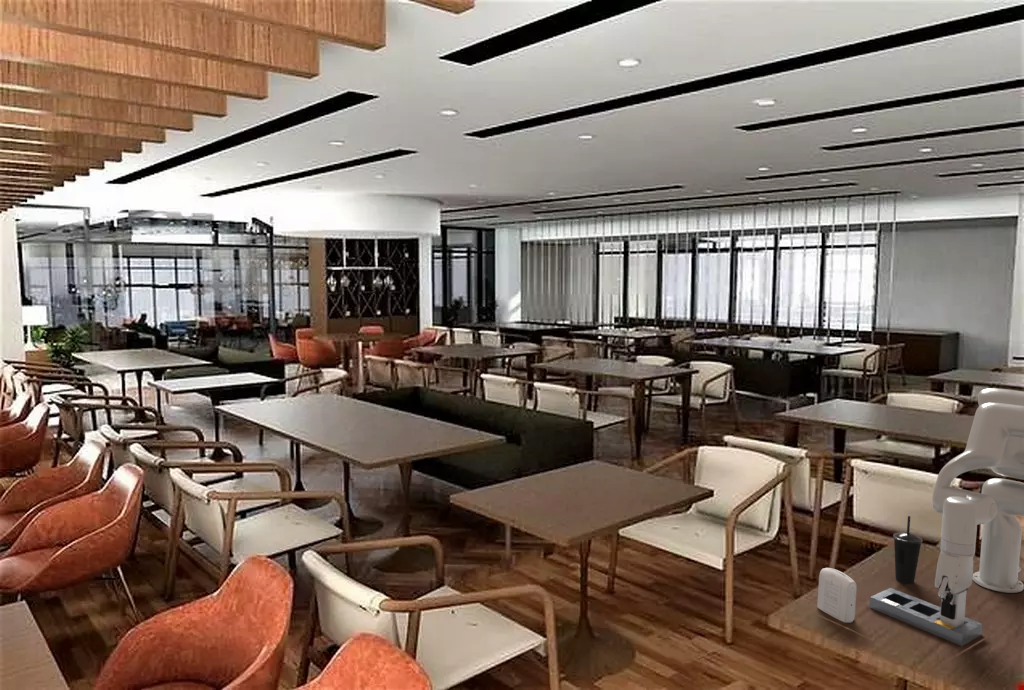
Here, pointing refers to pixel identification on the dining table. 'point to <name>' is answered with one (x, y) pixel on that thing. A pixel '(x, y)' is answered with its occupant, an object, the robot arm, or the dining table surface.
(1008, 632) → the dining table surface
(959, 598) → the plug
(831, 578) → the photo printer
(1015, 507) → the robot arm
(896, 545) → the drinking cup
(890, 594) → the socket panel
